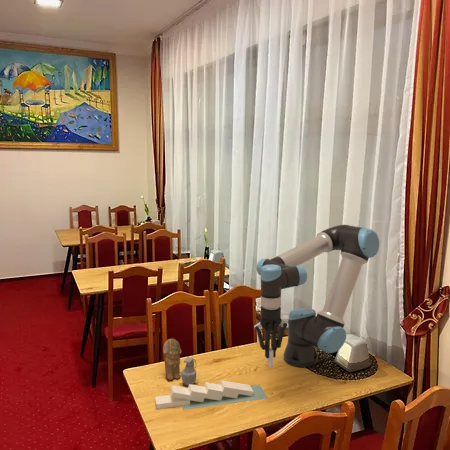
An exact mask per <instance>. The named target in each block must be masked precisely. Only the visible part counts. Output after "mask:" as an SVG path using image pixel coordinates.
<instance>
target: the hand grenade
mask: <svg viewBox="0 0 450 450" xmlns="http://www.w3.org/2000/svg"><path fill="white" fill-rule="evenodd" d="M183 363H186V364H185V366H184V369H182V370H181V372H180V374H181V375H180V378H181V381H182V383H183V384H184V386H185V387H188V386H189V384H192V385H195V382H196V379H197V370H196V368H197V365H195V364H197V361H196V359H195V358H194V357H190V356H187V357H186V358H185V359H184V360H183Z"/></svg>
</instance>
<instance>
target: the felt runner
mask: <svg viewBox="0 0 450 450" xmlns="http://www.w3.org/2000/svg"><path fill="white" fill-rule="evenodd" d="M250 387H251V388H252V390H253V391H254V393H253V396H248V395H242V394H238V397H237V398H231V397H225V396H222V399H221V401H220V400H213V399H207V398H204V401H203V402H198V401H192V400H190V405H184V406H181V407H182V410H183V411H184V410H185V411H186V410H191V409H199V408H206V407H213V406H222V405H227V404H235V403H243V402H249V401H259V400H264V399H269V397H268V395H267V393H266V392H265V391H264V389H263V387H262V386H261V384H254V385H253V384H252V385H250Z"/></svg>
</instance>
